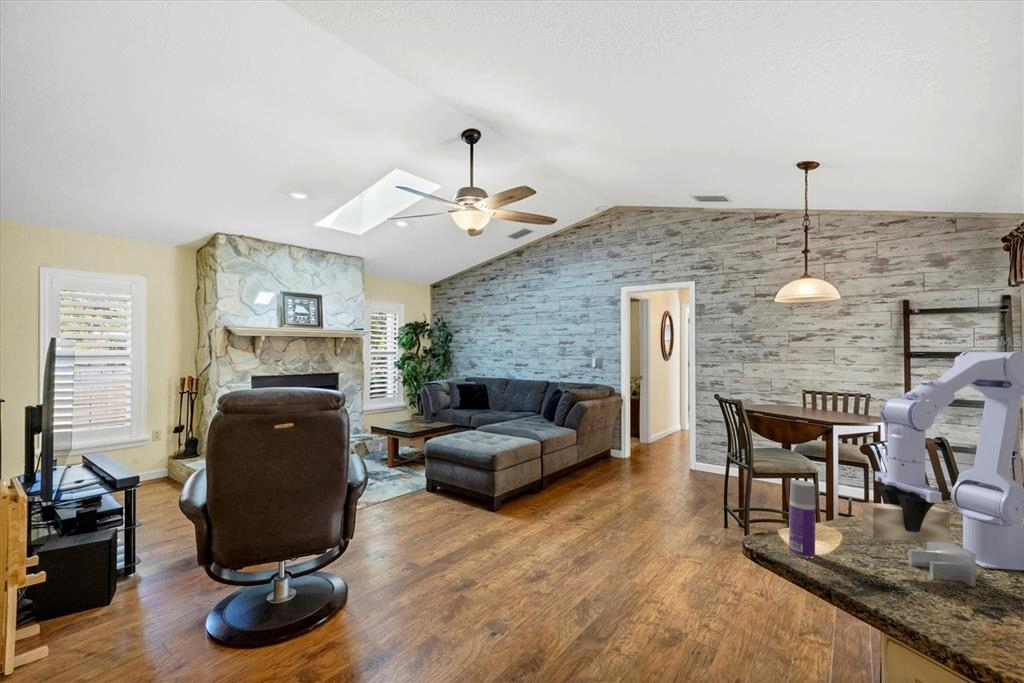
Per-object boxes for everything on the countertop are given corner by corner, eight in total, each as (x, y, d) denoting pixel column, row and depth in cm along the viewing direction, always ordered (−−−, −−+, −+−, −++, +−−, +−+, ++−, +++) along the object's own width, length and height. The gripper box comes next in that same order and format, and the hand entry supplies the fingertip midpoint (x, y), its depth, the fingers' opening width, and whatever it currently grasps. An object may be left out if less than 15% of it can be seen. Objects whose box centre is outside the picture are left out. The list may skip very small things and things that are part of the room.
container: (819, 559, 94) (820, 487, 94) (794, 557, 95) (795, 485, 95) (809, 550, 99) (810, 480, 99) (785, 547, 100) (786, 479, 100)
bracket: (933, 561, 95) (933, 532, 95) (978, 586, 85) (978, 554, 85) (901, 559, 95) (901, 530, 95) (941, 584, 85) (942, 551, 85)
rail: (936, 536, 91) (936, 506, 92) (949, 542, 88) (949, 511, 89) (862, 532, 93) (862, 502, 93) (872, 538, 90) (873, 507, 90)
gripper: (860, 450, 98) (859, 513, 98) (913, 467, 84) (912, 541, 84) (895, 451, 98) (894, 515, 98) (954, 469, 83) (953, 543, 83)
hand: (905, 527), depth 91 cm, fingers closed on rail, 3 cm apart
